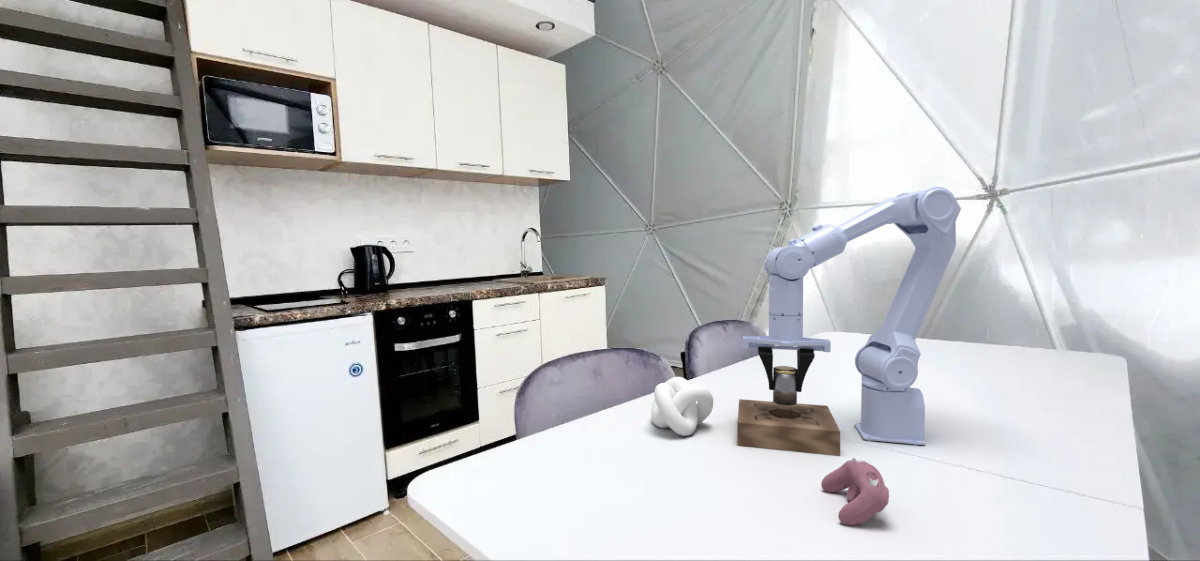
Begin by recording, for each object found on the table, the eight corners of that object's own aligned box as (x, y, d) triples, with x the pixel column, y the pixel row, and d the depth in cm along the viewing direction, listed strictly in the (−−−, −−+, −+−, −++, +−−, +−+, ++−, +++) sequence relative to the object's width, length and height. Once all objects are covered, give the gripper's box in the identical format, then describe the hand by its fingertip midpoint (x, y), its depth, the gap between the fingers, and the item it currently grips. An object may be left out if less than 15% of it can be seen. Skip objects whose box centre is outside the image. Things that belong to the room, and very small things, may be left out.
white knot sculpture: (705, 417, 99) (705, 373, 98) (721, 439, 87) (721, 389, 86) (649, 418, 99) (648, 374, 98) (657, 441, 87) (657, 391, 86)
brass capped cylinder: (795, 399, 89) (796, 366, 89) (798, 406, 85) (798, 372, 85) (772, 397, 90) (772, 365, 90) (773, 404, 86) (774, 371, 86)
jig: (827, 426, 93) (827, 405, 93) (840, 455, 79) (840, 431, 79) (739, 419, 97) (739, 399, 97) (737, 445, 84) (737, 422, 84)
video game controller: (873, 542, 58) (903, 493, 57) (836, 522, 59) (866, 473, 58) (848, 501, 68) (873, 458, 67) (816, 484, 69) (841, 442, 68)
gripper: (742, 315, 86) (742, 392, 86) (834, 318, 81) (832, 399, 82) (743, 311, 92) (742, 382, 93) (827, 313, 88) (826, 387, 89)
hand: (784, 389), depth 88 cm, fingers closed on brass capped cylinder, 4 cm apart
